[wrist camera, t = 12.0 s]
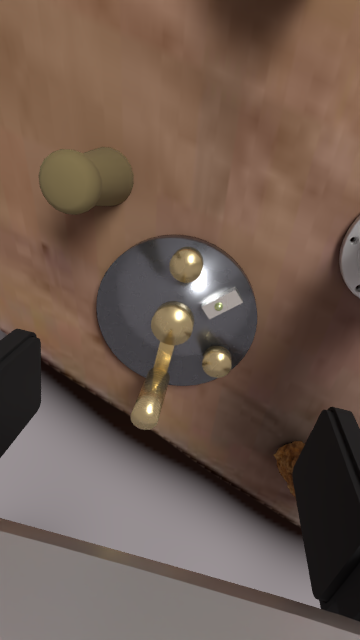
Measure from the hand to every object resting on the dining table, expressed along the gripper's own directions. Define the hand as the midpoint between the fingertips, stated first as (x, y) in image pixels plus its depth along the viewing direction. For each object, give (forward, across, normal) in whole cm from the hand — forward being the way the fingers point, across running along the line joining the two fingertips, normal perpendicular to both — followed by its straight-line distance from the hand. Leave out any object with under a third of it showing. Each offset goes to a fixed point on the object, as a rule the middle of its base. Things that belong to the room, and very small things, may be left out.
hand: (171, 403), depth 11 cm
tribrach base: (+30, +3, +11) cm, 32 cm away
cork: (+30, +13, -3) cm, 33 cm away
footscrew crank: (+28, +3, +15) cm, 32 cm away
